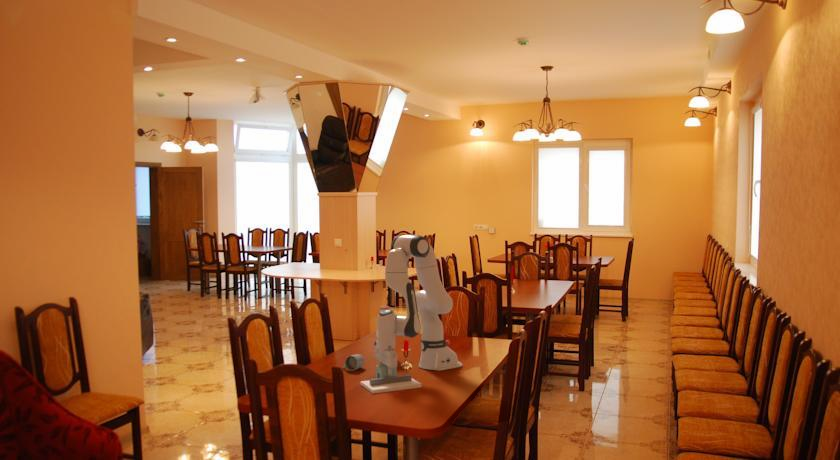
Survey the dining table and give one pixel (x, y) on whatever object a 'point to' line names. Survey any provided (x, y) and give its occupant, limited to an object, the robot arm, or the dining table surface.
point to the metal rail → (390, 380)
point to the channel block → (384, 371)
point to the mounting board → (390, 386)
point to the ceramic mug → (354, 362)
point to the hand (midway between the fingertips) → (386, 372)
